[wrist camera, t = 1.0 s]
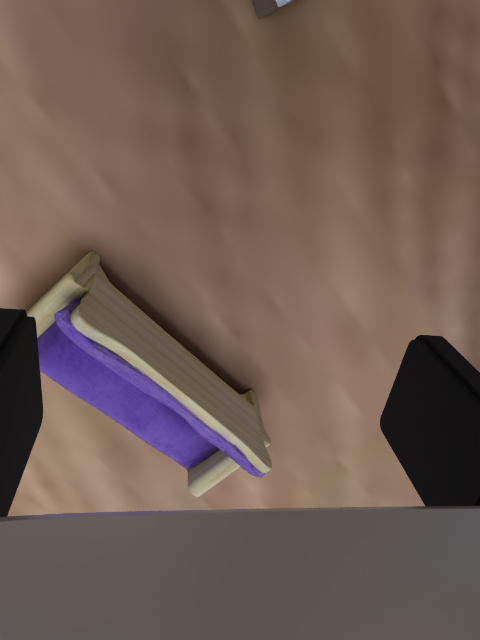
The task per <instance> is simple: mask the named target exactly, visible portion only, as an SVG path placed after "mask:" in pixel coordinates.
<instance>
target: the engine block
mask: <svg viewBox="0 0 480 640" xmlns="http://www.w3.org/2000/svg"><path fill="white" fill-rule="evenodd" d="M294 1H296V0H252V3H253V6H254V9H255V12H256V15H257V18H258V19H260V18H262V17H264V16H266V15H268V14H270V13H272V12H274V11H276V10H278V9H280V8H282V7H284V6H286V5H288V4H290V3H292V2H294Z"/></svg>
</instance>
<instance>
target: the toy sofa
mask: <svg viewBox="0 0 480 640" xmlns="http://www.w3.org/2000/svg"><path fill="white" fill-rule="evenodd" d="M99 263H100V257H99V255H98V254H96V253H95V252H94V251H90V252H89V253H87V254H86V255H85V256H84V257H83V258H82V259H81V260H80V261H79V262H78V263H77V264H76V265H75V266H74V267H73V268H72V269H71V270H70V271H69V272H67V273H66V274H65V275H64V276H63V277H62V278H61V279H60V280H59V281H58V282H57V283H56V284H55V285H54V286H53V287H52V288H51V289H50V290H49V291H48V292H47V293H45V294H44V295H43V296H42V297H41V298H40V299H39V300H38V301H37V302H36V303H35V304H34V305H33V306H32V307H31V308H30V309H29V310H28V311H27V312H26V313H27V316H30V317H34V318H35V320H36V328H37V340H38V353H39V365H40V371H41V372H42V373H44V374H46V375H47V376H48V377H50V378H51V379H52V380H54V381H55V382H57V383H58V384H60V385H61V386H63V387H64V388H65V389H67V390H69V391H70V392H71V393H73V394H74V395H76V396H78V397H79V398H80V399H82V400H84V401H85V402H87V403H89V404H90V405H92V406H94V407H96V408H97V409H99V410H100V411H102V412H103V413H104V414H105V415H107V416H109V417H110V418H112V419H113V420H115V421H116V422H117V423H119V424H121V425H122V426H124V427H125V428H126V429H128V430H129V431H131V432H132V433H134V434H135V435H136V436H137V437H139V438H141V439H142V440H144V441H145V442H146V443H148V444H149V445H151V446H153V447H154V448H155V449H157V450H159V451H160V452H162V453H164V454H165V455H167V456H168V457H170V458H172V459H173V460H174V461H176V462H177V463H179V464H180V465H181V466H183V467H185V468H186V469H187V471H188V488H189V490H190V492H191V493H192V495H194V496H195V497H199V496H201V495H202V494H203V493H205V492H206V491H207V490H209V489H210V488H212V487H213V486H214V485H216V484H217V483H218V482H220V481H221V480H222V479H224V478H225V477H227V476H228V475H229V474H231V473H232V472H233V471H235V470H236V469H238V468H239V467H240V466H241V467H242V468H243V469H244V470H246V471H247V472H248V473H249V474H251V475H253V476H256V477H262V476H263V475H264V474H265V473H266V472H268V471H269V470H271V469H272V463H271V459H270V457H269V454H268V452H267V449H266V447H268V446H269V445H270V444H271V440H270V437H269V435H268V434H267V432H266V431H265V429H264V425H263V421H262V418H261V413H260V409H259V405H258V401H257V396H256V394H255V393H254V392H253V391H252V390H249V391H247V392H246V393H245V394H241V395H239V394H238V393H237V392H236V391H234V390H233V389H232V388H231V387H230V386H229V385H227V384H226V383H225V382H224V381H223V380H221V379H220V378H219V377H218V376H217V375H216V374H214V373H213V372H212V371H211V370H210V369H209V368H207V367H206V366H205V365H204V364H203V363H202V362H201V361H199V360H198V359H197V358H196V357H195V356H194V355H192V354H191V353H190V352H189V351H187V350H186V349H185V348H184V347H183V346H182V345H181V344H180V343H178V342H177V341H176V340H175V339H174V338H173V337H171V336H170V335H169V334H168V333H167V332H166V331H164V330H163V329H162V328H161V327H160V326H159V325H158V324H156V323H155V322H154V321H153V320H152V319H151V318H150V317H148V316H147V315H146V314H145V313H144V312H143V311H141V310H140V309H139V308H138V307H137V306H136V305H135V304H134V303H132V302H131V301H130V300H129V299H128V298H127V297H126V296H124V295H123V294H122V293H121V292H120V291H119V290H117V289H116V287H114V286H113V285H112V284H111V283H110V282H109V280H108V278H107V277H106V275H105V273H104V272H103V270H102V268H101V266H100V264H99Z"/></svg>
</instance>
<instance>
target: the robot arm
mask: <svg viewBox="0 0 480 640" xmlns="http://www.w3.org/2000/svg"><path fill="white" fill-rule="evenodd" d="M42 418H43V403H42V390H41V378H40V365H39V353H38V340H37V328H36V320H35V318H34V317H30V316H27V313H26V311H25V310H18V309H2V308H0V640H480V373H479V372H478V371H477V370H476V369H475V368H474V367H473V366H472V365H471V364H470V363H469V362H468V361H467V360H466V359H465V358H464V357H463V356H462V355H461V354H460V353H459V352H458V351H457V350H456V349H455V348H454V347H453V346H452V345H451V344H450V343H449V342H448V341H447V340H446V339H445V338H443V337H442V336H430V335H419V336H417V337H416V338H415V340H412V341H411V342H410V343H409V345H408V347H407V350H406V352H405V355H404V358H403V360H402V363H401V365H400V368H399V371H398V373H397V376H396V379H395V381H394V384H393V387H392V389H391V392H390V394H389V397H388V400H387V402H386V405H385V408H384V410H383V413H382V415H381V419H380V427H381V430H382V432H383V434H384V436H385V438H386V439H387V441H388V443H389V444H390V446H391V448H392V450H393V451H394V453H395V455H396V456H397V458H398V460H399V462H400V463H401V465H402V467H403V468H404V470H405V472H406V474H407V475H408V477H409V479H410V480H411V482H412V484H413V485H414V487H415V489H416V491H417V492H418V494H419V496H420V497H421V499H422V501H423V503H424V504H425V506H417V507H340V508H279V509H227V510H181V511H135V512H96V513H62V514H44V515H26V516H9V517H7V515H8V512H9V510H10V507H11V504H12V501H13V499H14V496H15V493H16V491H17V488H18V485H19V483H20V480H21V477H22V475H23V472H24V469H25V467H26V464H27V461H28V459H29V456H30V453H31V450H32V448H33V445H34V442H35V440H36V437H37V434H38V432H39V429H40V426H41V423H42Z"/></svg>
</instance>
